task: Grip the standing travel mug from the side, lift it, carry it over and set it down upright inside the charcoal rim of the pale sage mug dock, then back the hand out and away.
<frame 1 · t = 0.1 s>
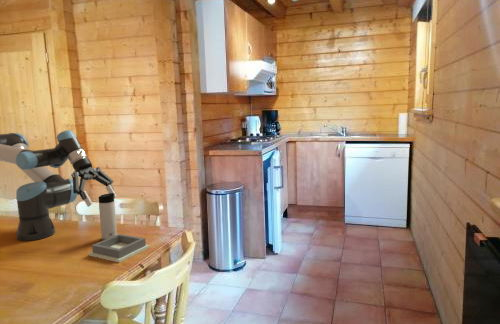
hand: (102, 201, 165), 15 cm above the table, tool tilted 35°, fingers open, 13 cm apart
mug dock: (119, 251, 147), on the table
travel mug: (110, 239, 161), on the table
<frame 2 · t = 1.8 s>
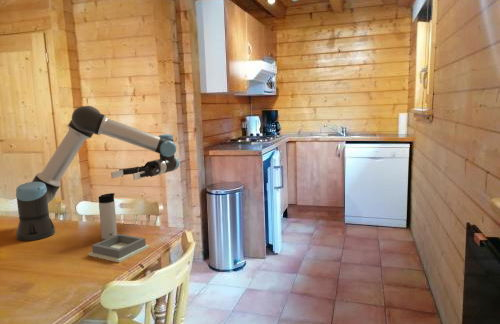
hand: (122, 176, 166), 26 cm above the table, tool horizontal, fingers open, 13 cm apart
nothing on the table moved.
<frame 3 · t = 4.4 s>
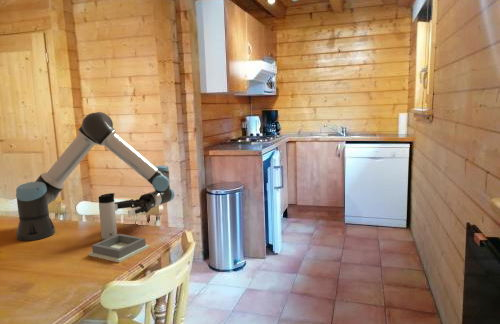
hand: (117, 211, 163), 11 cm above the table, tool horizontal, fingers open, 13 cm apart
nothing on the table moved.
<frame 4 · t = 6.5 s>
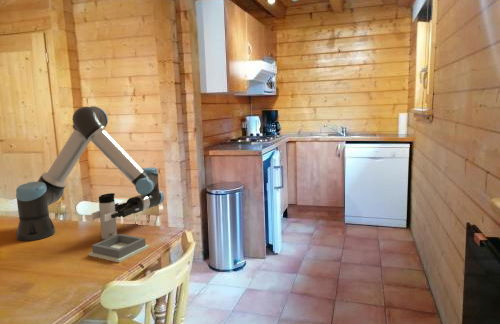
hand: (98, 217, 155), 11 cm above the table, tool horizontal, fingers closed on travel mug, 6 cm apart
travel mug: (110, 239, 161), on the table, touching gripper
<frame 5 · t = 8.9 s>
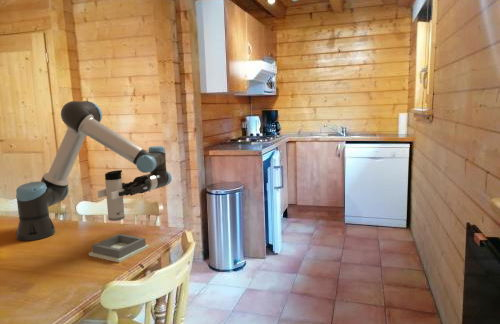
hand: (105, 195, 146), 22 cm above the table, tool horizontal, fingers closed on travel mug, 6 cm apart
travel mug: (117, 219, 152), point 11 cm above the table, touching gripper
when the fingers open (12 cm above the table, at t = 11.5 s): travel mug stays where it is, resting on mug dock.
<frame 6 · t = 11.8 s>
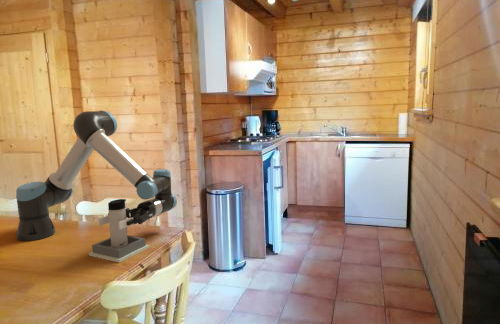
hand: (108, 224, 141), 12 cm above the table, tool horizontal, fingers open, 10 cm apart
travel mug: (120, 249, 147), point 1 cm above the table, touching mug dock
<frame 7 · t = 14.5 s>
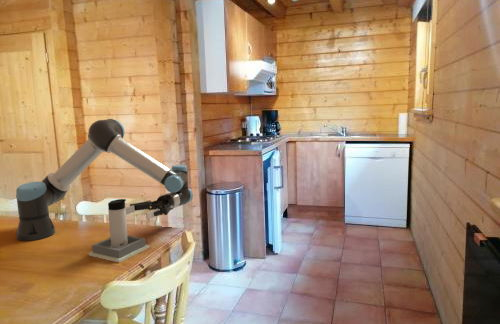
hand: (134, 214, 153), 13 cm above the table, tool horizontal, fingers open, 13 cm apart
nothing on the table moved.
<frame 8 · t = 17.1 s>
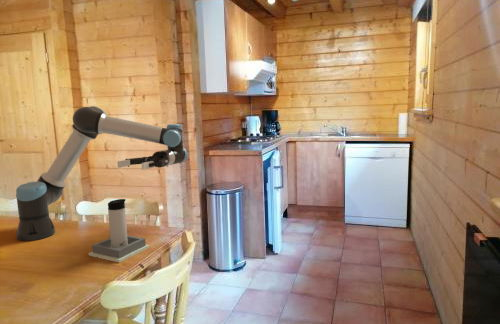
hand: (130, 165, 156), 32 cm above the table, tool horizontal, fingers open, 13 cm apart
nothing on the table moved.
at the end: travel mug inside the target area on the mug dock (0.3 cm from its centre), point 0.8 cm above the mug dock's base; travel mug tilted 0°; the gripper is holding nothing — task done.
